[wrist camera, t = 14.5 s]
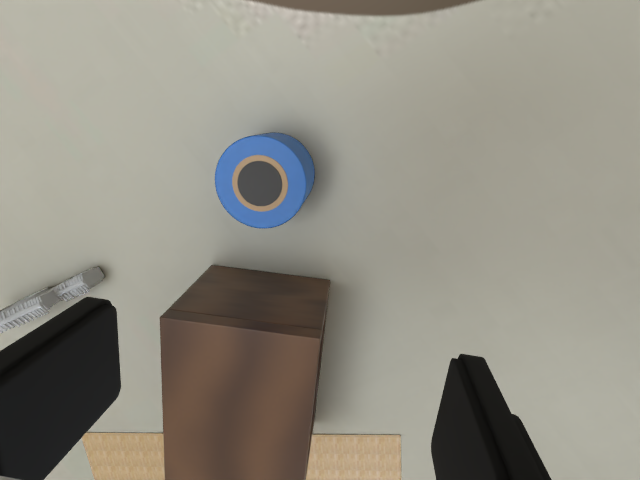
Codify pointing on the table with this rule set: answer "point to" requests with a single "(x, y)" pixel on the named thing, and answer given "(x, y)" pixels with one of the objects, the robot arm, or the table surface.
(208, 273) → the brown boxy piece
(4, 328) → the lattice window wall
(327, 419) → the table surface
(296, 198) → the tape
